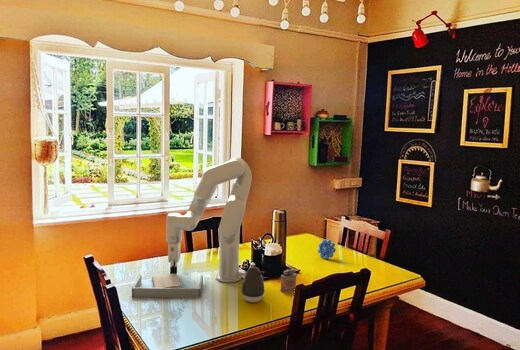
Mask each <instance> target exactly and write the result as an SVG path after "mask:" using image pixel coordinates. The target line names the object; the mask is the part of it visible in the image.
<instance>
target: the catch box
mask: <svg viewBox="0 0 520 350" xmlns="http://www.w3.org/2000/svg"><path fill="white" fill-rule="evenodd" d="M203 280H204V275H203V274H202V275H200V280H199V285H198V287H180V288H154V287H140V286H141V285H142V274H139V275H138V277H137V279H136V280H135V282H134V284H133V285H132V287H131V298H132V297H133V298H196V299H197V298H201V295H202V289H203V283H204V281H203Z"/></svg>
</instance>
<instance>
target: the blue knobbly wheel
mask: <svg viewBox="0 0 520 350" xmlns="http://www.w3.org/2000/svg"><path fill="white" fill-rule="evenodd" d="M335 246H336V244H335V242H332V239H327V240H326V239H322V240H321V242H320V243H318V249H317V253H318V254H319V257H320V258H322V259H323V258H324V259H325V260H328V259H329V258H333V257H334V256H335V255H334V254H335V252H337V250H336V247H335Z"/></svg>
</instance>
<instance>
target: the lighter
mask: <svg viewBox="0 0 520 350" xmlns="http://www.w3.org/2000/svg"><path fill="white" fill-rule="evenodd" d="M297 276H298V275H297V273H296V269H295V268H293V269H292V268H291V269H288V268H287V269H286V270H284V271H283V274H281V275H280V278H281V279H280V289H279V290H280V291H279V292H281V293H290V291H291V292H295V291H294V289H295V286H296V287H297Z"/></svg>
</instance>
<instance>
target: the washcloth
mask: <svg viewBox="0 0 520 350" xmlns="http://www.w3.org/2000/svg"><path fill="white" fill-rule="evenodd" d="M151 279H152V285H153V288H181V287H180V286H181V282H180V279H179V276H178V273H177V274H170V273H168V274H157V275H153V276H151Z"/></svg>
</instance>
